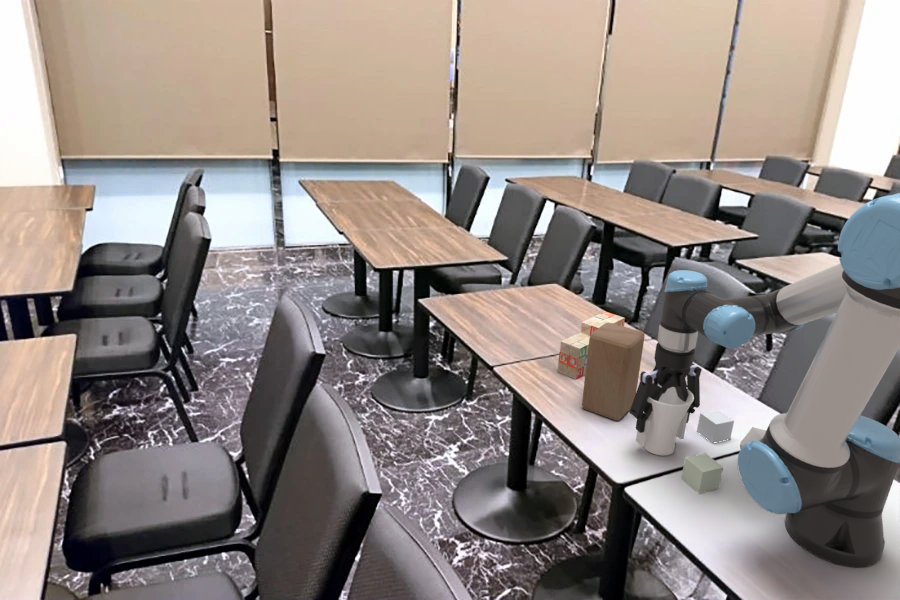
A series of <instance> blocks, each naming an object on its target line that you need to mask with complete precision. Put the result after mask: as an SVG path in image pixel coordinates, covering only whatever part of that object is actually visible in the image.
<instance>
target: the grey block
mask: <svg viewBox="0 0 900 600" xmlns="http://www.w3.org/2000/svg"><path fill="white" fill-rule="evenodd" d="M766 430H767V429H766ZM766 430H765V429H762V428H759V427H754V426H753V427H751V428H750V429H749V431H748V432H747V433H746V435H745V436H744V437H743V438H742V440H741V441H740V444H739V448H740V450H741V448H742V447H743V446H744V445H745V444H747V443H750V441H755V440H757V441H759V440H761V439H762V438H763V436H764V434H765V432H766Z"/></svg>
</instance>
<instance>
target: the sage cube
mask: <svg viewBox="0 0 900 600" xmlns="http://www.w3.org/2000/svg"><path fill="white" fill-rule="evenodd" d="M723 469H724V466H723V465H721V464H720V463H719V462H717V461H716V460H715V459H714V458H712V457H711V456H710V455H709V454H707V453H706V452H705V453H699V454H695V455H692V456H691V455H690V456H686V457H684V463H683V467H682V472H681V479H682V480H683V481H684V482H685V483H686V484H687V485H688V486H689V487H691V489H693V490H694V491H696V493H698V494H702V493H705V492H709V491H712V490H716V489H719V488H720V484H721V480H722V475H723V471H724V470H723Z"/></svg>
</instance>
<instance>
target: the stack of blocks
mask: <svg viewBox="0 0 900 600" xmlns="http://www.w3.org/2000/svg"><path fill="white" fill-rule="evenodd" d="M625 320H626V318H625V317H623V316H620V315H617V314H614V313H611V312H608V311H606V312H602V313H599V314H596V315H594V316H592V317H589V318H588V319H586V320H584V321H582V322H581V324H580V325H581V326H580V332H578V333H576V334H574V335H573V334H572V335H571V336H569V337H567V338H565V339H563V340H561V341H560V346H559V352H558V363H557V364H558V365H557V373H560V374H563V375H565V376H567V377H570V378H571V379H574V380H578V379H580V378H581V377H583V376H584V377H585V373H586V364H587V356H588V347H589V338H590V335H591V333H592V332H594V331H595V330H597V329H598V328H599V327H601V326H602V325H604V324H605V323H612V324H616V325H620V326H623V327H625Z"/></svg>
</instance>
